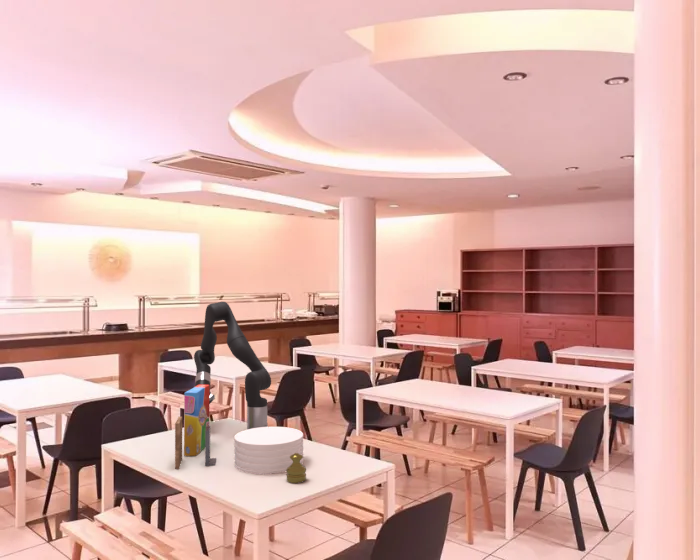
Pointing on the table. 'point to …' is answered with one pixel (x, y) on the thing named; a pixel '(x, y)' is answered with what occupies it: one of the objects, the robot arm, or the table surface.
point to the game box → (195, 419)
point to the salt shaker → (296, 469)
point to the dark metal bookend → (208, 449)
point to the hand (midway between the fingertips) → (200, 412)
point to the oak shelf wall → (178, 442)
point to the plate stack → (266, 449)
